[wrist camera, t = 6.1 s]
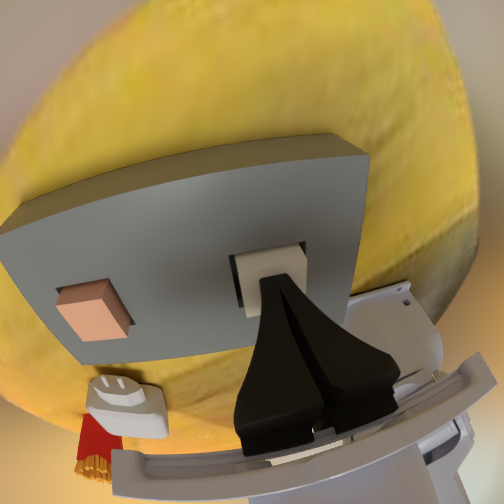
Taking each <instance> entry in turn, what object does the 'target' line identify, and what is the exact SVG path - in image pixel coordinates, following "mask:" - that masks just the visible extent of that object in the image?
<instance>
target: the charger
mask: <svg viewBox="0 0 504 504" xmlns="http://www.w3.org/2000/svg"><path fill="white" fill-rule="evenodd" d="M86 409H87V410H88V412H89V413H90V414H91V415H92V416H93V417H94V418H95V419H96V420H97V421H98V423H99V424H100V425H101V426H102V427H103V428H104V429H105V430H106V431H107V432H109V433H110V434H113V435H118V436H126V437H136V438H149V439H163V438H166V437H168V435H169V427H168V414H167V410H166V406H165V401H164V397H163V393H162V390H161V389H160V388H159V387H156V386H152V385H143V384H138V383H137V382H135V381H133V380H131V379H130V378H128V377H124V376H114V375H104V374H101V375H100V377H97V378H94V379H93V380H92V381H91V382H90V383H89V386H88V393H87V401H86Z"/></svg>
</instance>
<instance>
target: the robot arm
mask: <svg viewBox="0 0 504 504" xmlns="http://www.w3.org/2000/svg"><path fill="white" fill-rule="evenodd" d="M259 284H260V293H261V315H260V323H259V330H258V335H257V340H256V345H255V348H254V352H253V356H252V359H251V363H250V366H249V368H248V371H247V374H246V377H245V380H244V382H243V384H242V387H241V389H240V391H239V394H238V396H237V401H236V406H235V411H234V426H235V431H236V433H237V435H238V436H239V438H240V440H241V445H242V448H241V449H234V450H227V451H218V452H208V453H194V454H171V455H149V454H143V453H141V452H139V451H134V450H120V449H112V450H111V469H112V489H113V490H112V491H113V495H114V496H117V497H124V498H132V499H141V500H151V501H168V502H202V501H203V502H205V501H221V500H233V499H241V498H248V500H249V504H470V501H469V499H468V496H467V494H466V491H465V489H464V486H463V484H462V481H461V479H460V476H459V474H458V472H457V470H458V468H459V467H460V465H461V464H462V462H463V461H464V459H465V458H466V456H467V455H468V453H469V452H470V450H471V448H472V446H473V444H474V440H473V437H474V435H475V434H474V431H473V429H472V427H471V424H470V422H469V421H470V418H469V416H468V413H467V411H466V410H467V409H469V408H470V407H471V406H473V405H474V404H475V403H477V402H478V401H479V400H480V399H482V398H483V397H484V396H485V395H487V394H488V393H489V392H490V391H491V390H492V389H494V388H495V387H496V386H497V384H498V383H497V381H496V380H495V378H494V376H493V374H492V372H491V371H490V369H489V367H488V366H487V364H486V362H485V361H484V359H483V357H482V355H481V354H480V352H477V353H475V354H474V355H472V356H471V357H469V358H468V359H466V360H465V361H464V362H463V363H462V364H461V365H460V366H459V368H458V369H456V370H455V371H453V372H452V373H450V374H447V373H446V372H445V371H442V370H441V371H439V367H440V365H441V363H442V359H443V346H442V341H441V338H440V336H439V333H438V331H437V330H436V328H435V326H434V325H433V323H432V322H431V320H430V319H429V318H428V316H427V315H426V313H425V312H424V310H423V309H422V307H421V306H420V305H419V303H418V302H417V300H416V299H415V297H414V296H413V295H412V293H411V292H410V291H409V288H410V286H411V283H410V282H409V281H404V282H401V283H398V284H395V285H391V286H388V287H385V288H381V289H378V290H374V291H371V292H367V293H364V294H360V295H357V296H353V297H349V301H348V305H347V310H346V314H345V318H344V322H343V324H340V325H338V324H337V323H335V322H334V321H333V320H332V319H330V318H329V317H328V316H327V315H326V314H324V313H323V312H322V311H321V310H320V309H319V308H318V307H317V306H316V305H315V304H314V303H313V302H312V301H311V300H310V299H309V298H308V297H307V296H306V295H305V294H304V293H303V292H302V291H301V289H300V288H299V287H298V286H297V285H296V284H295V282H294V281H293V280H292V279H291V277H290V276H289V275H288V274H287V273H284V274H279V275H274V276H269V277H264V278H261V279H260V280H259ZM432 374H433V376H434V378H435V379H434V378H433V376H432ZM435 380H436V381H435ZM312 428H313V431H314V433H313V432H312ZM342 439H343V445H341V446H338V447H335V448H333V449H330V450H327V451H323V452H320V453H317V454H314V455H311V456H308V457H304V458H301V459H298V460H294V461H291V462H287V463H283V464H279V465H275V466H272V465H271V462H270V461H262V460H267V459H272V458H277V457H282V456H286V455H290V454H294V453H298V452H302V451H306V450H310V449H313V448H317V447H320V446H323V445H327V444H330V443H333V442H336V441H339V440H342ZM256 461H262V462H256ZM250 462H251V463H250ZM237 464H238V465H237Z"/></svg>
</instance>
